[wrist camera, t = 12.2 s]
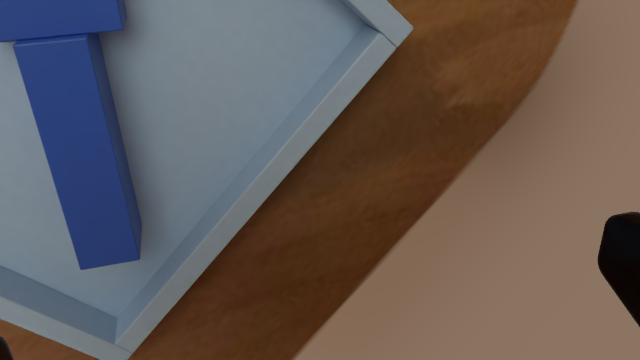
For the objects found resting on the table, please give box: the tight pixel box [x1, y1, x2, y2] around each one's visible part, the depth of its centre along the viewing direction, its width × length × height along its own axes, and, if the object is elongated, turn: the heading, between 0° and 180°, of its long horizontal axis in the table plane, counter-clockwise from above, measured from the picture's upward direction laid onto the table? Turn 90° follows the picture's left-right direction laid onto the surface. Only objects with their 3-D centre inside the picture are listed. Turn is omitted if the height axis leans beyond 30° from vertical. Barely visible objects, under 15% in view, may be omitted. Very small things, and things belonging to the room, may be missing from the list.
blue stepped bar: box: [0, 0, 142, 270], centre depth 16 cm, size 11×4×2 cm, turn 3°
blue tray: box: [0, 0, 413, 360], centre depth 16 cm, size 16×14×2 cm
